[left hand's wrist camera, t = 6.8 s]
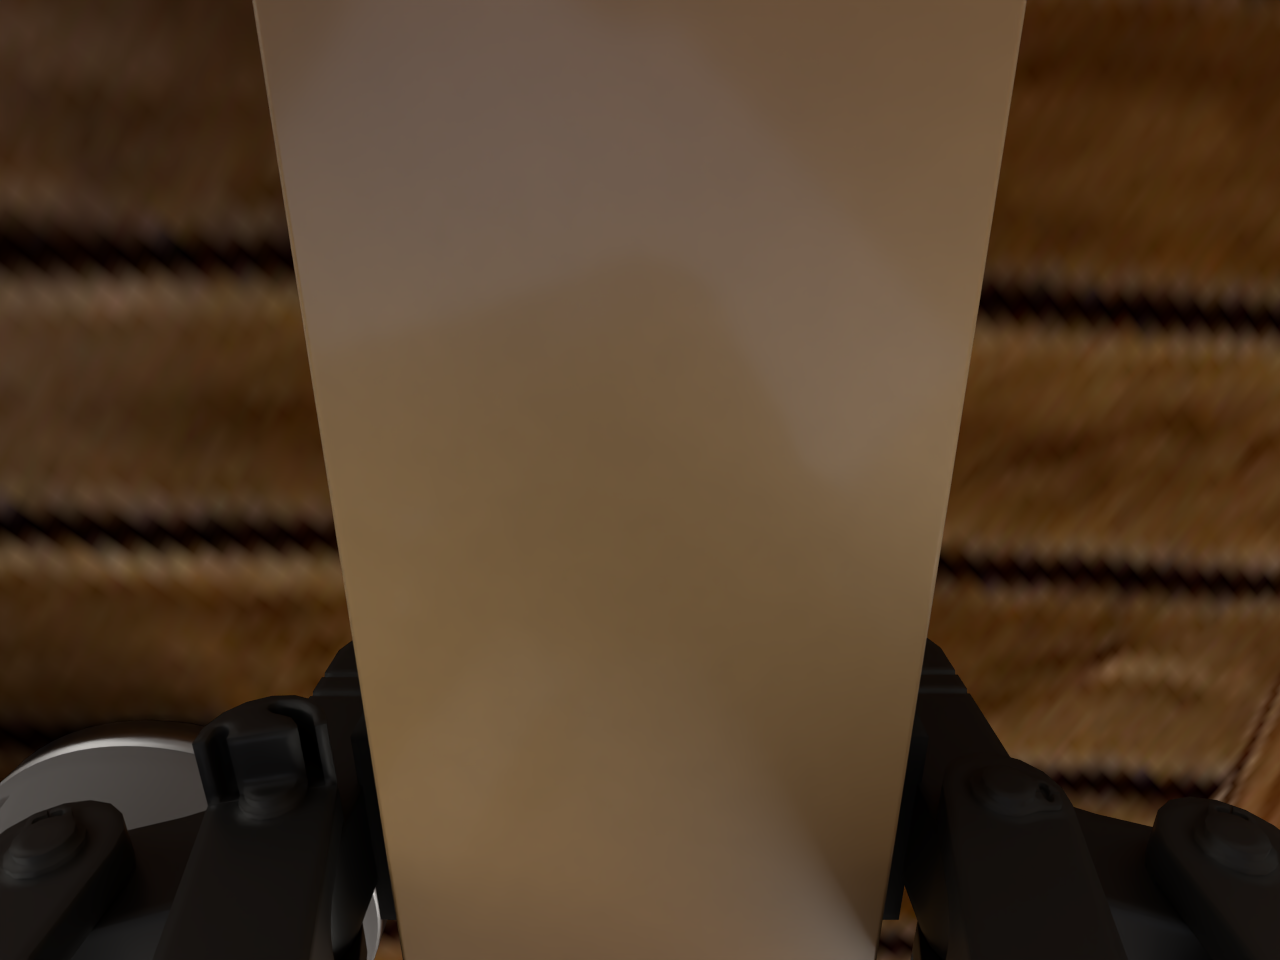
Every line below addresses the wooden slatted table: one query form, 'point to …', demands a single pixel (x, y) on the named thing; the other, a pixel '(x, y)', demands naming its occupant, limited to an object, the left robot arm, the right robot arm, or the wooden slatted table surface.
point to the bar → (639, 441)
